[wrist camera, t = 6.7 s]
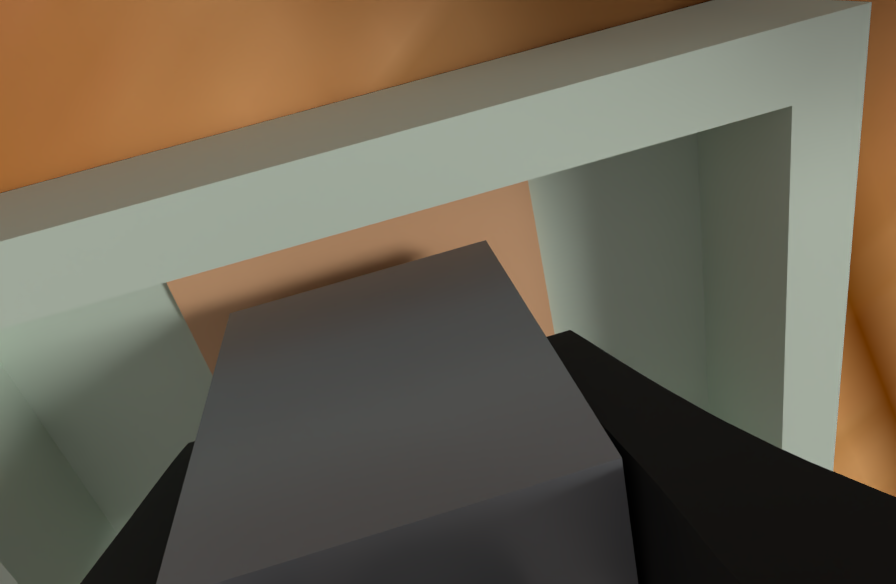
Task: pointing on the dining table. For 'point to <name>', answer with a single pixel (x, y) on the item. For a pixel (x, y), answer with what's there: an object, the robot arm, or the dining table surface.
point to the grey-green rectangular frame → (451, 243)
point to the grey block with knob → (399, 443)
